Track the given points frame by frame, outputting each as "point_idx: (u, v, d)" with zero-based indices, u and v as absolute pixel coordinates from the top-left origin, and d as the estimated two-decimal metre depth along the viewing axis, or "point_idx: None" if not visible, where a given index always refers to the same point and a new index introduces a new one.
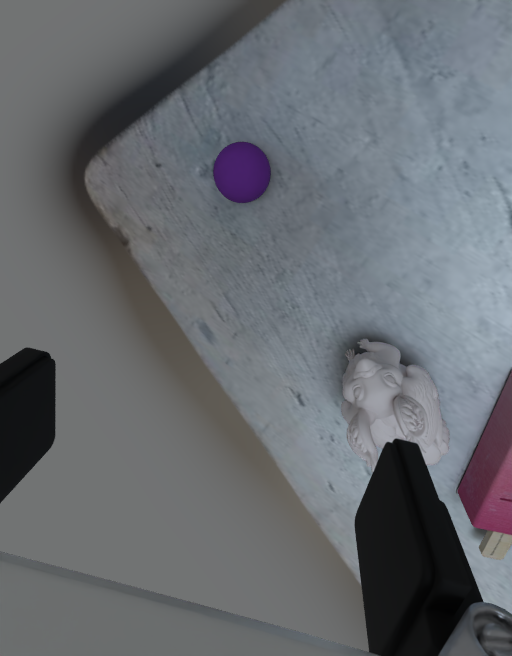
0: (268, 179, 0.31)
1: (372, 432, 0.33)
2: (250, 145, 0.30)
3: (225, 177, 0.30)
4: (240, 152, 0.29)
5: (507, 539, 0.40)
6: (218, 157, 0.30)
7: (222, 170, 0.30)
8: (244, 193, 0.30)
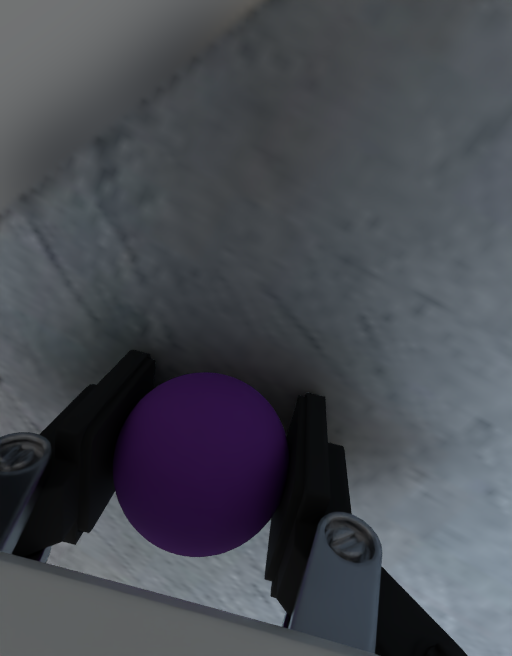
0: None
1: None
2: (225, 412, 0.09)
3: (141, 527, 0.09)
4: (187, 455, 0.08)
5: None
6: (122, 442, 0.09)
7: (130, 503, 0.09)
8: (207, 555, 0.09)
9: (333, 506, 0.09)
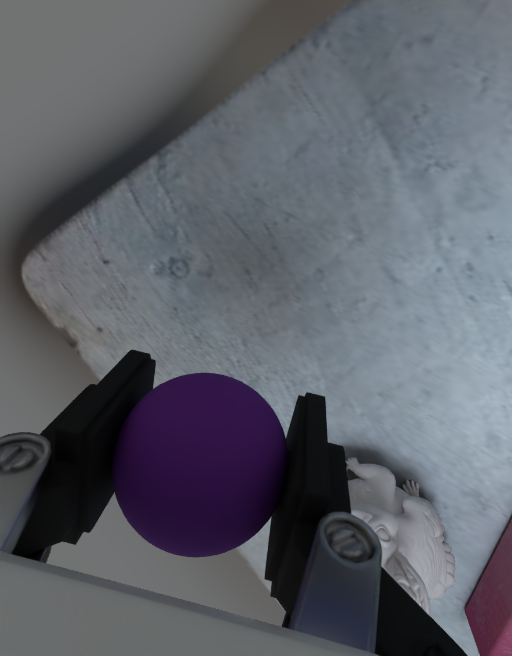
0: (282, 491, 0.10)
1: None
2: (224, 413, 0.09)
3: (141, 527, 0.09)
4: (186, 456, 0.08)
5: None
6: (121, 443, 0.09)
7: (129, 503, 0.09)
8: (206, 555, 0.09)
9: (333, 506, 0.09)
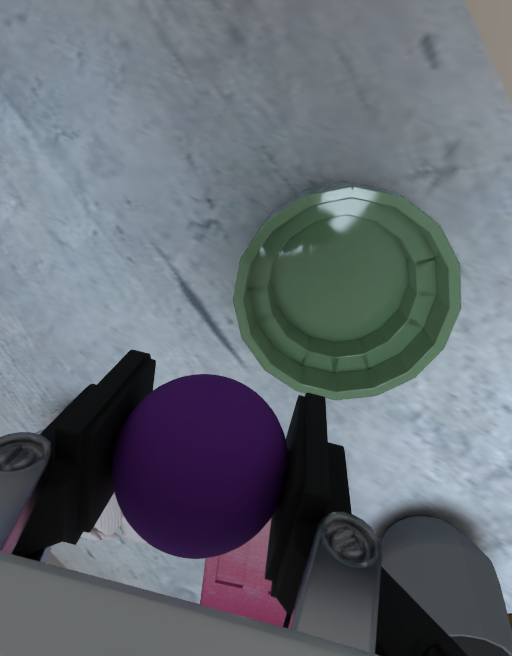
0: (282, 493, 0.10)
1: None
2: (224, 414, 0.09)
3: (140, 528, 0.09)
4: (186, 457, 0.08)
5: None
6: (121, 444, 0.09)
7: (129, 505, 0.09)
8: None
9: (333, 506, 0.09)
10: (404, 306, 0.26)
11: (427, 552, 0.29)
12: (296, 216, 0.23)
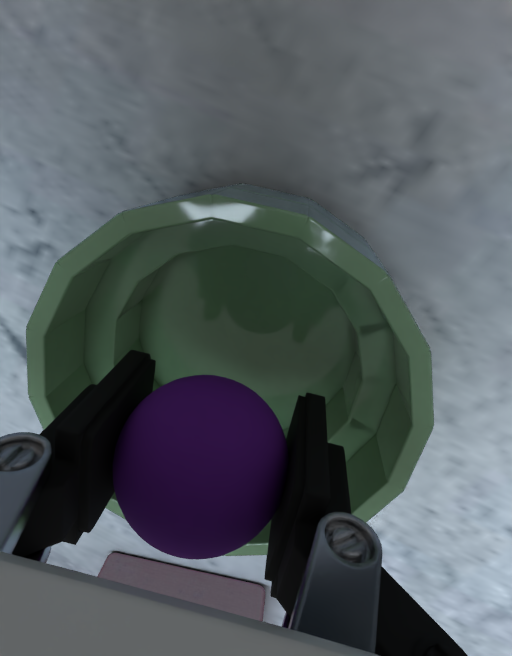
0: None
1: None
2: (224, 415, 0.09)
3: (141, 529, 0.09)
4: (187, 458, 0.08)
5: None
6: (121, 445, 0.09)
7: (129, 505, 0.09)
8: (206, 557, 0.09)
9: (333, 506, 0.09)
10: (347, 390, 0.16)
11: None
12: (144, 245, 0.13)
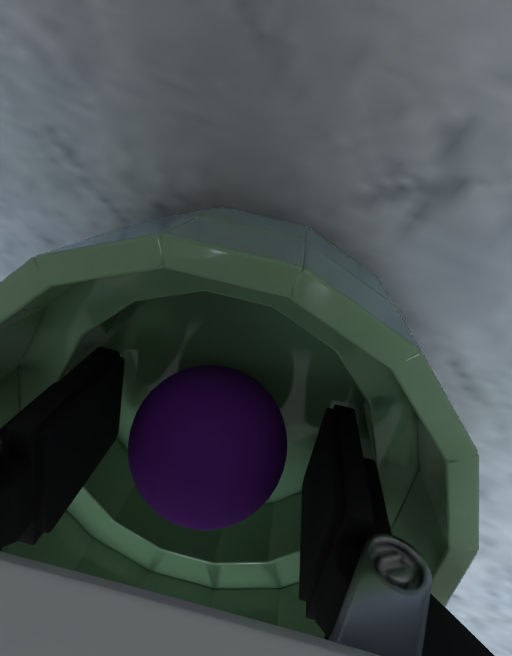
0: (281, 473, 0.11)
1: None
2: (229, 399, 0.10)
3: (154, 500, 0.10)
4: (196, 436, 0.09)
5: None
6: (137, 425, 0.10)
7: (144, 479, 0.10)
8: (212, 528, 0.10)
9: (372, 526, 0.08)
10: None
11: None
12: (88, 289, 0.10)
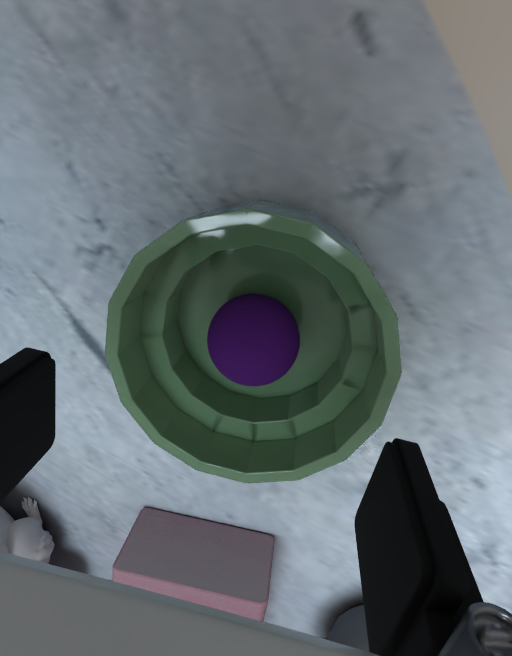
0: (296, 354, 0.19)
1: None
2: (268, 306, 0.18)
3: (226, 361, 0.18)
4: (251, 322, 0.17)
5: None
6: (215, 323, 0.18)
7: (220, 349, 0.18)
8: (257, 382, 0.18)
9: None
10: (341, 359, 0.20)
11: None
12: (191, 245, 0.18)
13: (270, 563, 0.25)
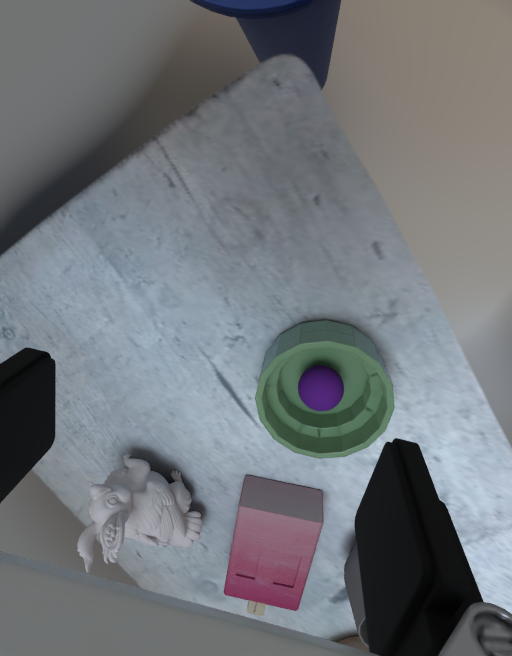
0: (342, 396, 0.38)
1: None
2: (329, 374, 0.38)
3: (309, 400, 0.38)
4: (322, 383, 0.37)
5: None
6: (303, 381, 0.38)
7: (307, 394, 0.38)
8: (323, 410, 0.38)
9: None
10: (364, 396, 0.40)
11: None
12: None
13: (322, 504, 0.45)
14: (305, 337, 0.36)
